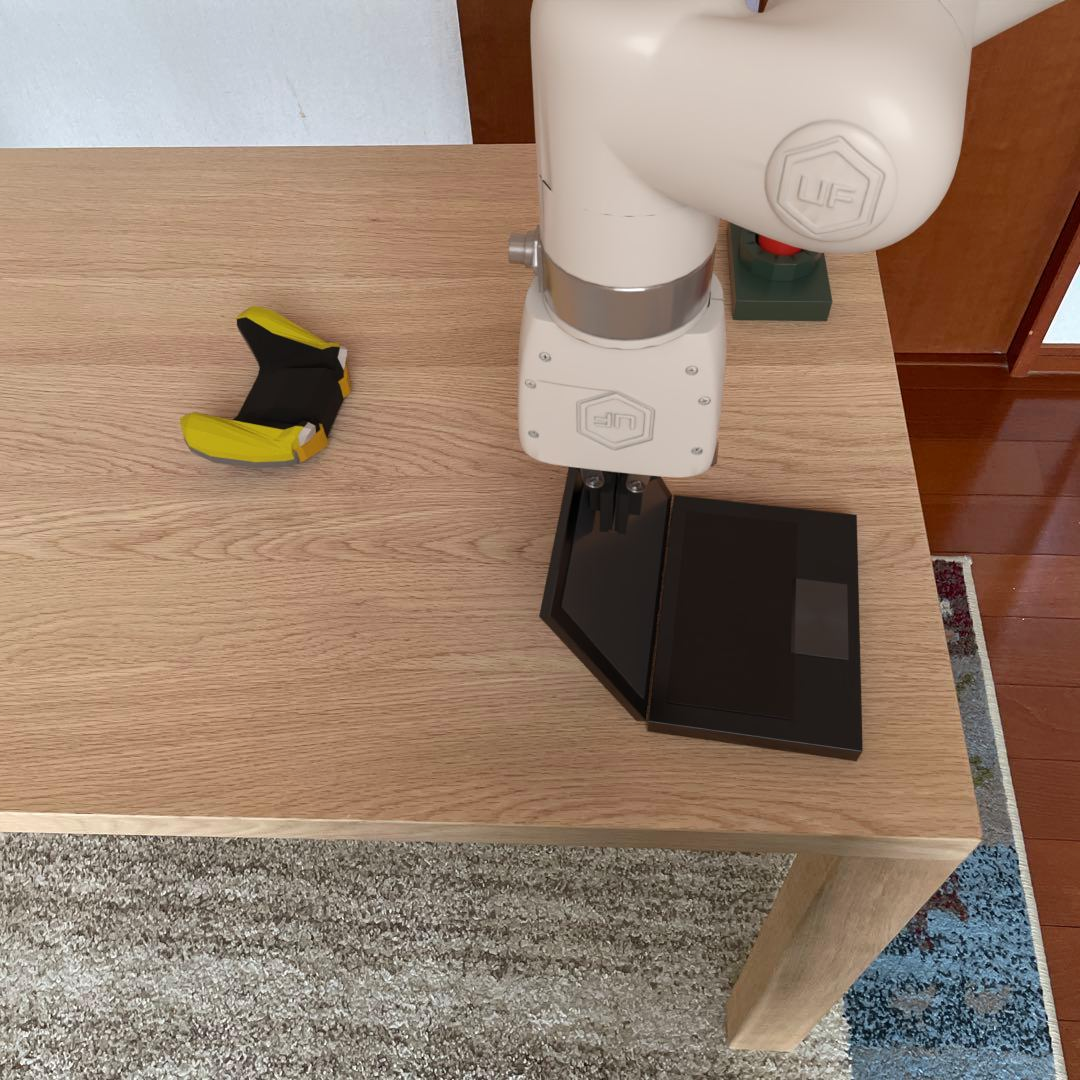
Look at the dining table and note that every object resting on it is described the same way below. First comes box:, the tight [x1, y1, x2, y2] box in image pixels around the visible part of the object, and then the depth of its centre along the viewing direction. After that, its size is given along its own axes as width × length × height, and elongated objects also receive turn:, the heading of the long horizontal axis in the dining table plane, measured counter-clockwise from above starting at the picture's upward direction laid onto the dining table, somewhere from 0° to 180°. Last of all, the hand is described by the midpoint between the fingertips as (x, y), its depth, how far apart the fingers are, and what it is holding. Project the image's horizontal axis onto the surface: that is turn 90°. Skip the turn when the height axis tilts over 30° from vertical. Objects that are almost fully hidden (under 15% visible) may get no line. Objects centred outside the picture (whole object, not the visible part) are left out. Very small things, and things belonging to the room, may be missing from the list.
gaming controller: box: [179, 305, 352, 469], centre depth 74 cm, size 15×6×10 cm
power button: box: [758, 234, 802, 255], centre depth 80 cm, size 4×4×2 cm
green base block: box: [726, 221, 833, 322], centre depth 82 cm, size 12×8×4 cm, turn 176°
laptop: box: [646, 494, 864, 762], centre depth 63 cm, size 13×18×2 cm
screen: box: [538, 467, 673, 722], centre depth 59 cm, size 13×18×1 cm
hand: (615, 513), depth 56 cm, fingers closed
